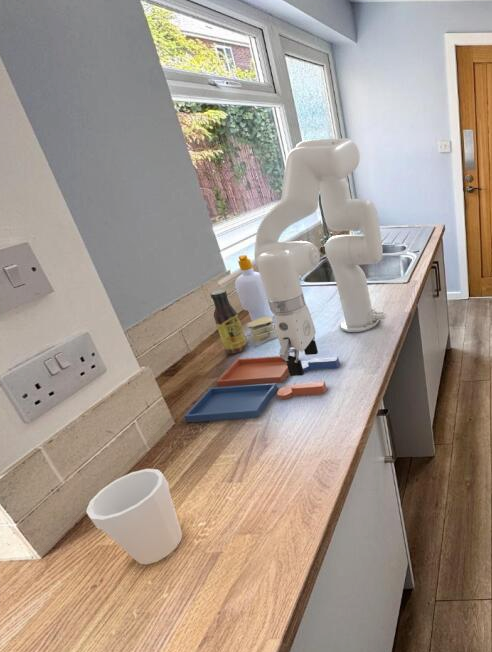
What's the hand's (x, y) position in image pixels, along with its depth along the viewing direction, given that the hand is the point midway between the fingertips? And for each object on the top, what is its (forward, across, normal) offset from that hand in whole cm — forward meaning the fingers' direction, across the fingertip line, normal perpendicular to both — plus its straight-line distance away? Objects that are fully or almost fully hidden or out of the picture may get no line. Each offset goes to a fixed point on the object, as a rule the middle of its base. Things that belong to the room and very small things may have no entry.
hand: (305, 364), depth 102 cm
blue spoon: (+9, +12, +3) cm, 16 cm away
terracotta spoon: (+9, 0, +3) cm, 10 cm away
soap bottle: (+8, +48, +35) cm, 60 cm away
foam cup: (+10, -40, +12) cm, 43 cm away
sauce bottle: (+9, +26, +33) cm, 43 cm away
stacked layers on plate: (+9, +34, +28) cm, 45 cm away
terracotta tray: (+9, +12, +19) cm, 24 cm away
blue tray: (+9, -2, +19) cm, 21 cm away
